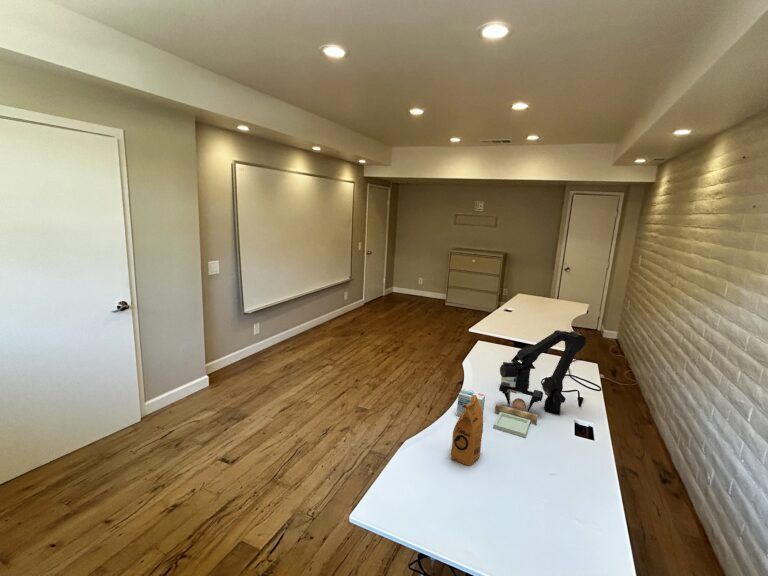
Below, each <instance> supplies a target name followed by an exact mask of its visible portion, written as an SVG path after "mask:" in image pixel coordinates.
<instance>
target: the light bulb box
mask: <svg viewBox="0 0 768 576" xmlns="http://www.w3.org/2000/svg"><path fill="white" fill-rule="evenodd" d="M473 395H476V396H477V399H478V401H479V404H480V406H481V409H482V412H483V413H484V411H485V403H486V402H485V401H486V394H485V393H481V392H478V391H474V390H470V389H466V388H462V389H461V391H459V393H458V397H457V406H456V417H459V418H460V417H461V415H462V413H463V411H464V410H465V409H466V408H463V406H464V405H466V404H470V403H471V397H472V396H473Z"/></svg>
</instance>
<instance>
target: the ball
mask: <svg viewBox="0 0 768 576" xmlns="http://www.w3.org/2000/svg"><path fill="white" fill-rule="evenodd" d="M511 404H512V408H514V409H517V410H521V411H525V409H526V407H527V406H526V405H527V404H526V401H525V400H524V399H522V398H519V397H518V398H515V399H513V401H512V403H511Z"/></svg>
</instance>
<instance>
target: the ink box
mask: <svg viewBox="0 0 768 576" xmlns="http://www.w3.org/2000/svg"><path fill="white" fill-rule="evenodd" d="M502 382H506V383H510V386H511V387H515V382H514V377H502V376H501V380H500V384H501V383H502ZM510 393H514V394H516V393H517V392H514V391H511V392H510Z"/></svg>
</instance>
